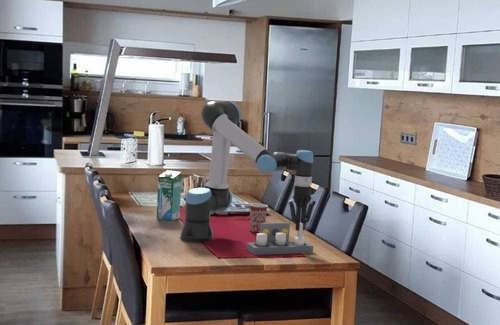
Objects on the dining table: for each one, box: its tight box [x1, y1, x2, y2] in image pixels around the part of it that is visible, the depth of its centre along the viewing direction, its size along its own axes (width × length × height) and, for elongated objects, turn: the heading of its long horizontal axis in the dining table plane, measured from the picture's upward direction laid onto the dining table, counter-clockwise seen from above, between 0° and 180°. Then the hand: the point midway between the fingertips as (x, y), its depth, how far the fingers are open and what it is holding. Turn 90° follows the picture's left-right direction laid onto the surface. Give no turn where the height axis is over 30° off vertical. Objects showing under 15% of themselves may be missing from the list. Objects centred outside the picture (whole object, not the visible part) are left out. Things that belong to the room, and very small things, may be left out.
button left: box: [255, 233, 267, 247], centre depth 292 cm, size 5×5×5 cm
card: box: [260, 222, 291, 242], centre depth 302 cm, size 14×1×12 cm, turn 110°
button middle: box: [275, 232, 286, 246], centre depth 295 cm, size 5×5×5 cm
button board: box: [246, 240, 314, 256], centre depth 296 cm, size 28×9×4 cm, turn 110°
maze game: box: [215, 203, 271, 216], centre depth 382 cm, size 35×20×3 cm, turn 107°
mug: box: [249, 203, 269, 233], centre depth 337 cm, size 13×9×14 cm
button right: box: [293, 236, 305, 246], centre depth 299 cm, size 5×5×5 cm
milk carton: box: [156, 169, 183, 222], centre depth 352 cm, size 9×9×25 cm
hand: (299, 237), depth 298 cm, fingers closed
